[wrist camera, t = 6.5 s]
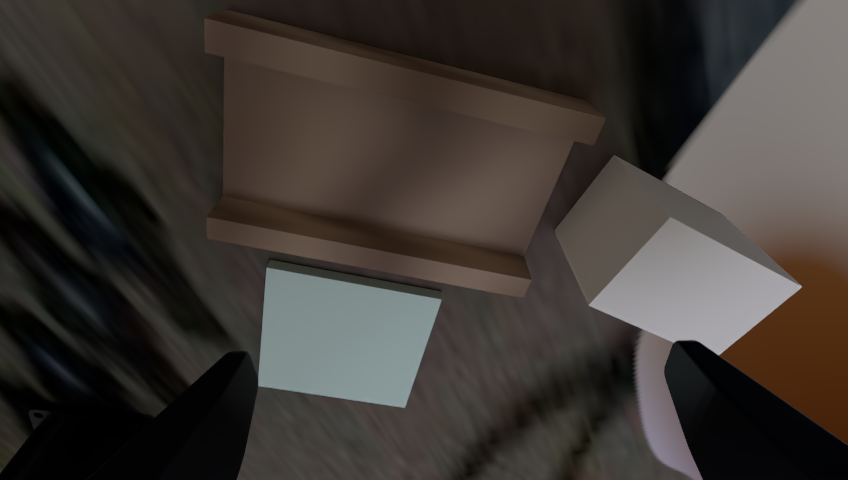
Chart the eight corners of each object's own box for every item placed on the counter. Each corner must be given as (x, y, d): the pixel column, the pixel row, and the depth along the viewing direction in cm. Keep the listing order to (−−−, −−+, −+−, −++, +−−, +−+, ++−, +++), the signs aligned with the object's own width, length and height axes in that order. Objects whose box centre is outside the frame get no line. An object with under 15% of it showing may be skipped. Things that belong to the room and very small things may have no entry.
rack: (225, 213, 20) (206, 238, 18) (227, 9, 15) (204, 18, 14) (515, 270, 21) (523, 298, 20) (588, 100, 17) (606, 118, 16)
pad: (261, 376, 25) (257, 385, 25) (270, 259, 21) (266, 267, 20) (405, 398, 26) (404, 407, 26) (441, 291, 22) (441, 299, 22)
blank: (553, 230, 20) (588, 305, 16) (613, 154, 18) (670, 217, 14) (656, 279, 22) (713, 359, 18) (721, 214, 20) (802, 286, 16)
